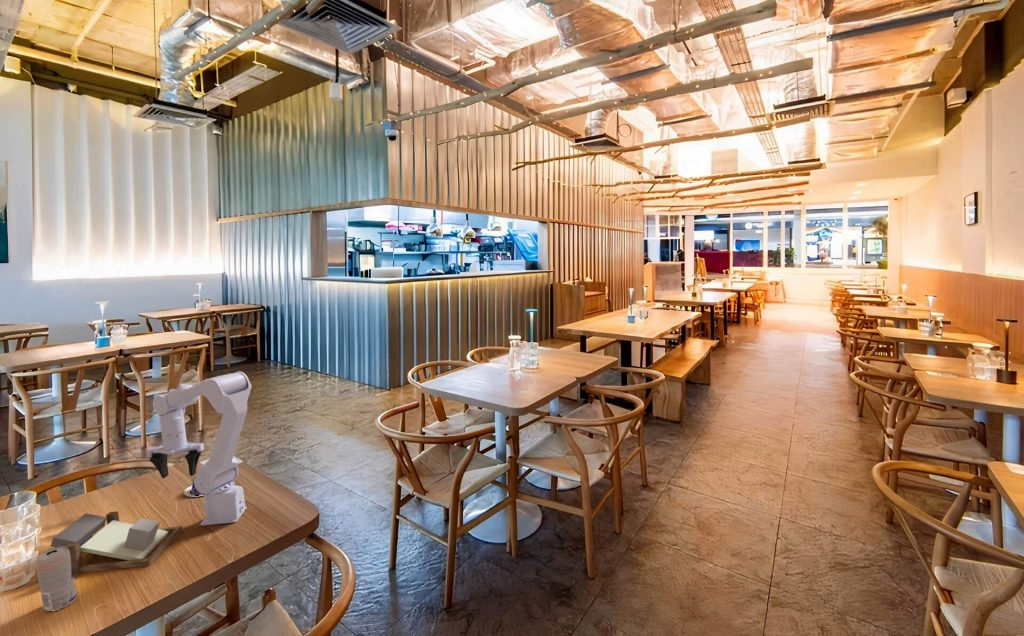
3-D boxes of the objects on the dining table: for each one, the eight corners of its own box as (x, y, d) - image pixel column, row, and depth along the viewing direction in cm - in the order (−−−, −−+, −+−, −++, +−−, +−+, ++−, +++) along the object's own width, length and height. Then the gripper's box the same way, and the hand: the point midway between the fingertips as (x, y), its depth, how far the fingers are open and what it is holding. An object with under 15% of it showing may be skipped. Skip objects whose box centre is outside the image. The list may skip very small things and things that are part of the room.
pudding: (182, 488, 157) (180, 473, 156) (224, 477, 164) (223, 462, 163) (185, 502, 147) (183, 487, 146) (229, 490, 154) (228, 475, 154)
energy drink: (74, 591, 108) (66, 542, 106) (79, 601, 105) (71, 551, 103) (42, 605, 104) (33, 554, 102) (45, 616, 101) (36, 564, 99)
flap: (166, 537, 130) (168, 529, 130) (139, 565, 118) (142, 556, 118) (85, 520, 126) (87, 512, 126) (48, 547, 114) (51, 538, 114)
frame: (183, 529, 132) (179, 505, 131) (149, 565, 117) (145, 538, 116) (88, 539, 128) (84, 514, 127) (40, 577, 113) (36, 550, 112)
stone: (154, 540, 125) (159, 522, 124) (143, 551, 120) (149, 532, 120) (135, 536, 124) (140, 518, 124) (123, 547, 119) (129, 528, 119)
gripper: (138, 439, 135) (144, 484, 137) (193, 435, 137) (198, 479, 139) (152, 430, 142) (158, 473, 144) (205, 426, 144) (210, 468, 146)
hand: (179, 475), depth 142 cm, fingers open, 7 cm apart
